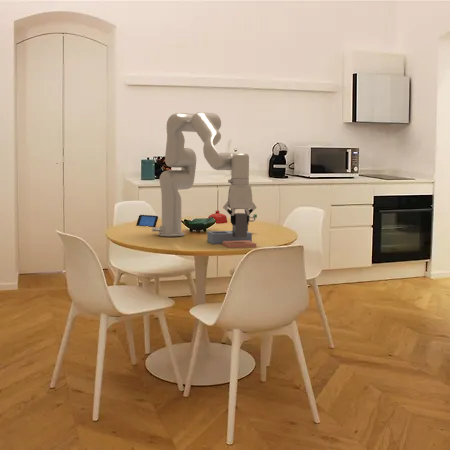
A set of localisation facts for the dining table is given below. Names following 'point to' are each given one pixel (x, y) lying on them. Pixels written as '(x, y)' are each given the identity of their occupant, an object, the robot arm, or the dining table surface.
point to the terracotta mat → (239, 244)
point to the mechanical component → (252, 220)
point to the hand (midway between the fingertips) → (239, 224)
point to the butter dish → (219, 217)
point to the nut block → (240, 225)
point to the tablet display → (147, 220)
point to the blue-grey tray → (225, 237)
